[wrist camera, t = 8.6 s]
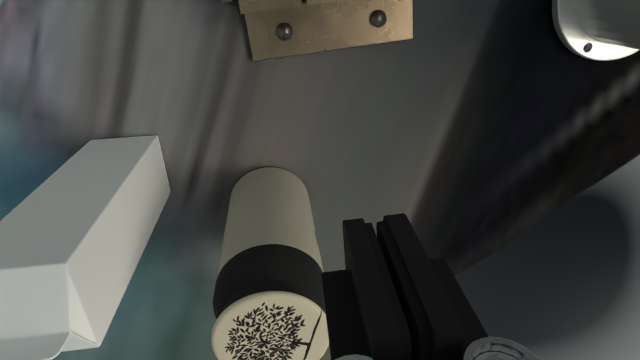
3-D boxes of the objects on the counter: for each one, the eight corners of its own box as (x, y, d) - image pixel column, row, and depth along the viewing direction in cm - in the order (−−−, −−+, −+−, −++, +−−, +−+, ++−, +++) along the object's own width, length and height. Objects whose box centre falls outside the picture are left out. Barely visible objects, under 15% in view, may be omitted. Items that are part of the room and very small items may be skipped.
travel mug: (219, 220, 41) (190, 372, 25) (246, 154, 38) (231, 277, 22) (291, 242, 43) (305, 393, 27) (320, 180, 41) (356, 310, 25)
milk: (171, 191, 39) (79, 402, 20) (107, 196, 39) (-53, 419, 19) (158, 132, 36) (35, 310, 17) (88, 138, 36) (-121, 328, 16)
